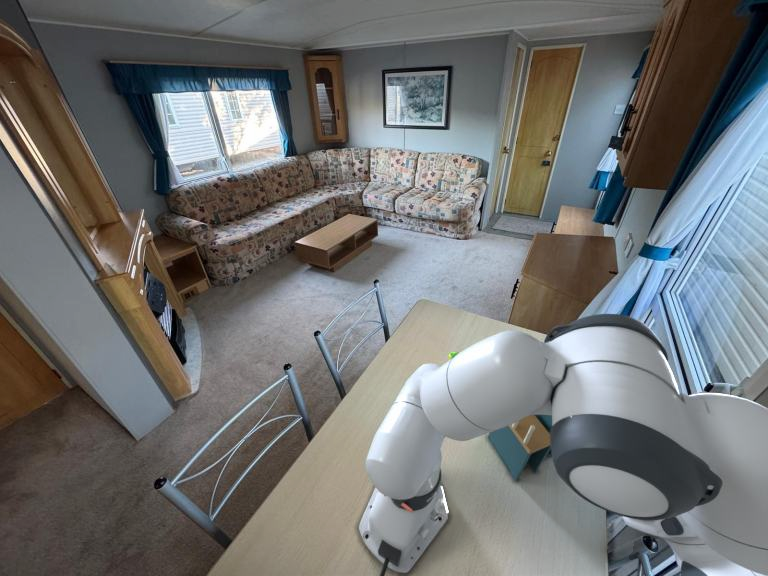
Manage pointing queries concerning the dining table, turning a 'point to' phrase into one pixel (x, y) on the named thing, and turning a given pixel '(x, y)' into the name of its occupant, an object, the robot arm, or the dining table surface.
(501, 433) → the plate rack
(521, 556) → the dining table surface
